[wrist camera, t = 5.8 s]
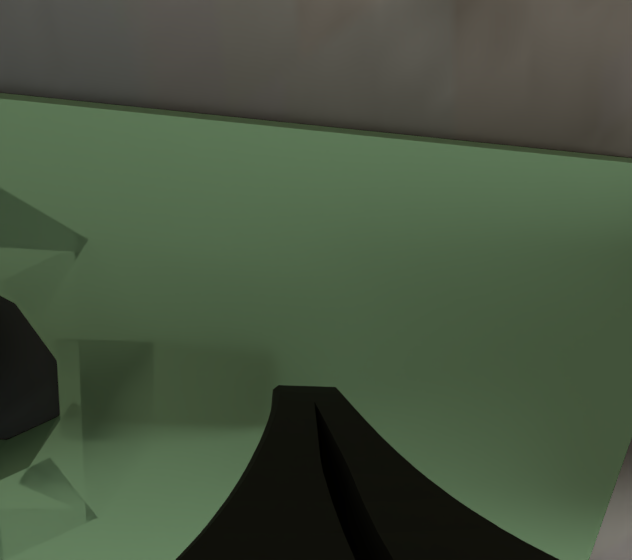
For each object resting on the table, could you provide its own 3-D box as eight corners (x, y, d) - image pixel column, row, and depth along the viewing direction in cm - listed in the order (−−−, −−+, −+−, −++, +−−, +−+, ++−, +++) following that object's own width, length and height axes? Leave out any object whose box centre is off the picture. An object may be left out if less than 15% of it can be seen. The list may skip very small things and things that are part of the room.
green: (659, 160, 14) (724, 172, 12) (545, 529, 18) (581, 581, 16) (-469, 43, 10) (-630, 34, 8) (-300, 540, 14) (-384, 610, 12)
